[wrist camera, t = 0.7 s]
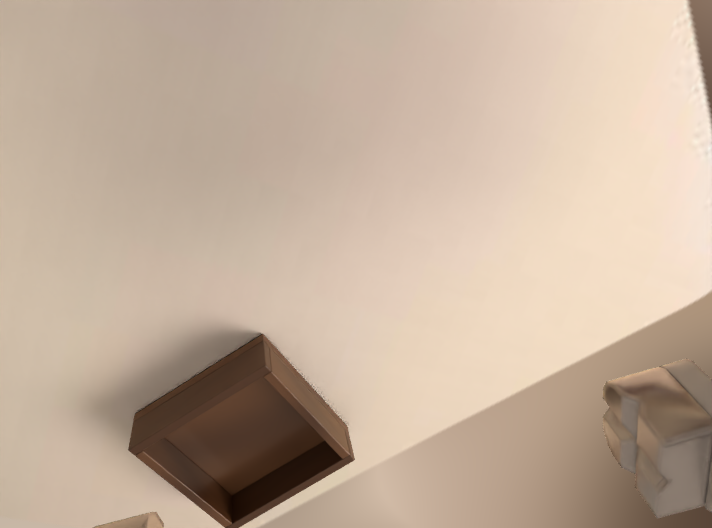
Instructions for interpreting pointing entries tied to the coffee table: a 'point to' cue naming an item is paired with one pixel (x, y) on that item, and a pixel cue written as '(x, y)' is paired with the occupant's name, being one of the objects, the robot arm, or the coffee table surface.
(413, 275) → the coffee table surface
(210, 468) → the tray
